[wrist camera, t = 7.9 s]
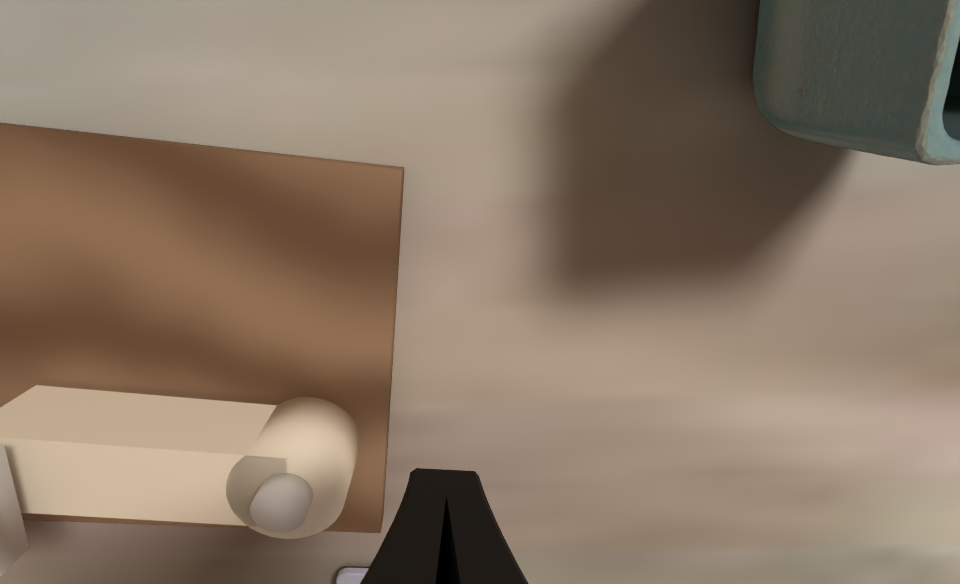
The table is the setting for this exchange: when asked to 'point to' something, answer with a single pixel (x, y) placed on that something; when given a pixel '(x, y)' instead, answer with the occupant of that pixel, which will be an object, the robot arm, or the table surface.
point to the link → (180, 458)
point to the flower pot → (863, 75)
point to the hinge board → (197, 286)
